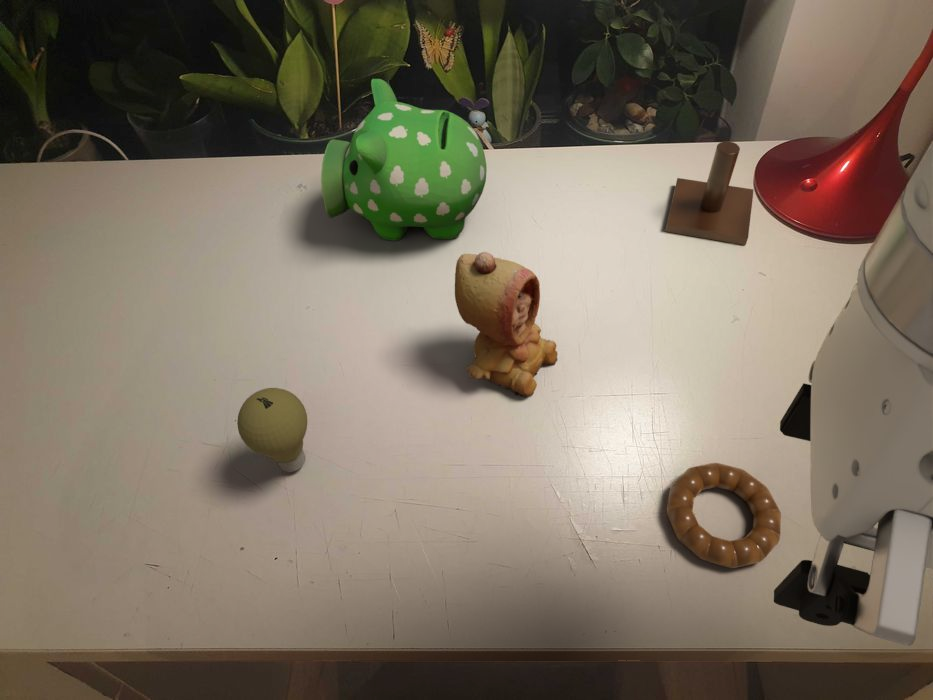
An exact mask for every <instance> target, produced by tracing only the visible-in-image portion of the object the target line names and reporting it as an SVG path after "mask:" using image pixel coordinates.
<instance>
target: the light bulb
mask: <svg viewBox="0 0 933 700" xmlns="http://www.w3.org/2000/svg"><path fill="white" fill-rule="evenodd" d="M236 421H237V423H236V424H237V431H238V434H239V437H240V439H241V440H242V442H243V443H244V444H245V445H246V447H248V448H249V449H250V450H252V451H253V452H254V453H256V454H259V455H261V456H266V457H270V458H271V459H272V460H274V461H276V463H277V464H278V466H279V468H280V469H281V470H282V471H284V472H287V473H293V472H295V471H299V469H301V468H302V466H304V464H305V462H306V454H305V452H304V450H303V447H304V438H305V436H306V433H307V429H308V413H307V409H306V408H305V406H304V404H303V403H302V401H301V399H300V398H299V397H297V395H296V394H294V393H293V392H291V391H289V390H286V389H285V388H278V387H269V388H268V387H266V388H263V389H260V390H258V391H256V392H254V393H252V394H251V395H249V396H248V397H247V398H246V399H245V400H244V401H243V403H242V405H241V407H240V408H239V411H238V414H237V420H236Z"/></svg>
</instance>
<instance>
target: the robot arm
mask: <svg viewBox="0 0 933 700" xmlns="http://www.w3.org/2000/svg"><path fill="white" fill-rule="evenodd" d="M820 345H821V346H820V348H819V350H818V352H817V354H816V357H815V359H814V360H813V361H812V363H811V366H810V369H809V372H808V383H809V384H808V383H802V385H801V387H800V388H799V390H797V391H798V392H796V395H795V396H794V398H793V400H792V401H791V403H790V405H789V406H788V408H787V410H786V411H785V413H784V415H783V416H782V417H781V420H780V421H779V431H780V433H782V435H783V436H785V437H789V438H794V439H799V440H803V441H807V442H810V443H809V445H810V447H809V449H810V453H809V455H810V458H809V461H810V466H809V468H810V470H809V472H810V476H809V477H810V479H809V480H810V507H811V508H810V509H811V518H812V522H813V525H814V527H815V529H816V530H817V532H818V533H819V535H820V536H819V538H818V542H817V545H816V549H815V552H814V555H813V558H812V560H810V559H803V560H801V561H800V562H799V563H797V565H796V566H795V567H794V568H793V569H792V570H791V571H790V572H789V573H788V575H787V576H785V578H783V580H782V581H781V582H780V583H779V584H778V585H777V586H776V587H775V588H774V590H773V603H774V604H776V605H778V606H781V607H785V608H788V609H791V610H795V611H798V616H799V618H800V619H802V620H804V621H806V622H809V623H813V624H816V625H820V626H825V627H834V626H837V625H839V624H841V623H844V624H847V625H850V626H853V628H854V629H856V630H859V631H861V632H863V633H865V634H867V635H869V636H872V637H874V638H879V639H882V640H885V641H889V642H893V643H896V644H900V645H903V646H906V647H911V646H912V645H913V644H914V642H915V641H916V636H917V634H918V633H917V632H918V625H919V618H920V612H921V604H922V597H923V596H922V595H923V589H924V581H925V574H926V568H927V569H932V570H933V140H932V141H931V142H930V144H929V146H928V148H927V149H926V151H925V153H924V154H923V156H922V158H921V160H920V161H919V162H918V165H917V167H916V168H915V170H914V171H913V173H912V175H911V176H910V178H909V180H908V182H907V184H906V186H905V187H904V189H903V191H902V192H901V194H900V196H899V197H898V199H897V200H896V203H895V204H894V206H893V208H892V210H891V211H890V213H889V214H888V216H887V218H886V220H885V222H884V224H883V225H882V227H881V228H880V230H879V232H878V234H877V235H876V237H875V239H874V241H873V242H872V243H871V246H870V248H869V249H868V251H867V252H866V254H865V256H864V257H863V259H862V261H861V263H860V265H859V268H858V271H857V277H856V283H855V284H854V285H853V288H852V289H851V292H850V296H849V297H848V300H847V302H846V303H845V305H843V308H842V309H841V311H840V312H839V314H838V316H837V317H836V319H835V320H834V322H833V323H832V325H831V327H830V329H829V331H828V332H827V334H826V336H825V338H824V339H823V341H822V343H821V344H820ZM876 525H877V527H876ZM844 545H848V546H852V547H856V548H861V549H864V550H867V551H871V552H873V555H872V560H871V561H872V562H871V567H870V573H868V572H866V571H863V570H859V569H856V568H851V567H848V566H844V565H841V564H838V563H839V560H840V558H841V554H842V551H843V548H844Z"/></svg>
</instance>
